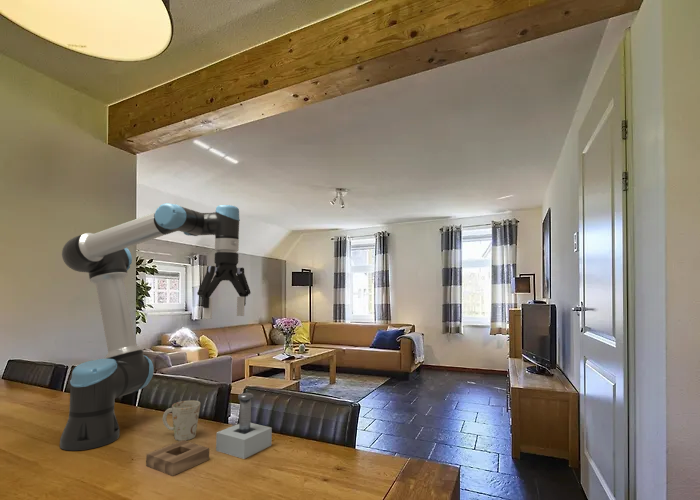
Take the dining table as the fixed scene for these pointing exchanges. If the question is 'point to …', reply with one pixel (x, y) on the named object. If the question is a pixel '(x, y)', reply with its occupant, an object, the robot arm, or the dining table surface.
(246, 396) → the pin
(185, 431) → the mug
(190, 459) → the block
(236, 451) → the socket
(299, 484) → the dining table surface
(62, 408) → the dining table surface
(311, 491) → the dining table surface
